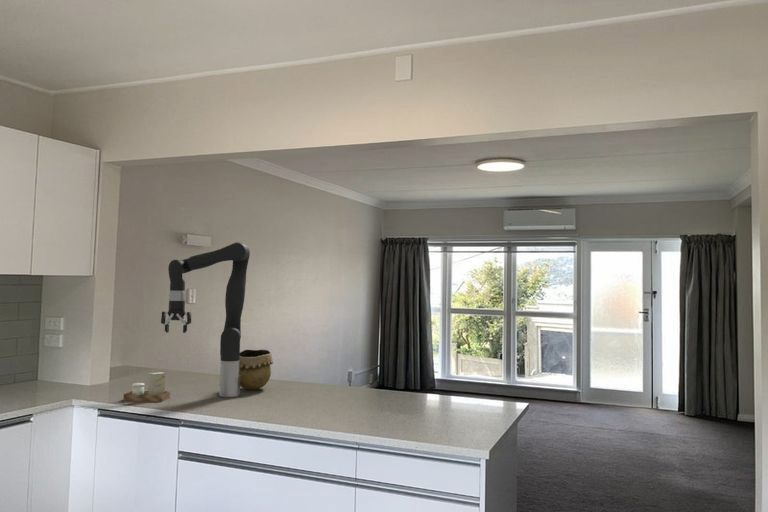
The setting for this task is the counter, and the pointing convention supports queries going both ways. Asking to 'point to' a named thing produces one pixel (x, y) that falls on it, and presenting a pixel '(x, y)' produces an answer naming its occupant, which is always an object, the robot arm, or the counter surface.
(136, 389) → the jar
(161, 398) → the caddy
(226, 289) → the robot arm
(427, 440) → the counter surface
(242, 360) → the clay pot
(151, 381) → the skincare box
